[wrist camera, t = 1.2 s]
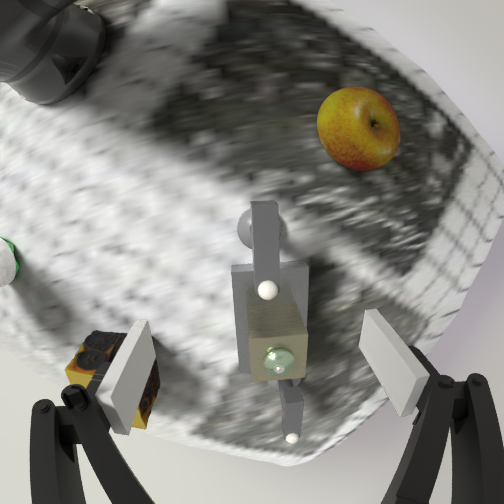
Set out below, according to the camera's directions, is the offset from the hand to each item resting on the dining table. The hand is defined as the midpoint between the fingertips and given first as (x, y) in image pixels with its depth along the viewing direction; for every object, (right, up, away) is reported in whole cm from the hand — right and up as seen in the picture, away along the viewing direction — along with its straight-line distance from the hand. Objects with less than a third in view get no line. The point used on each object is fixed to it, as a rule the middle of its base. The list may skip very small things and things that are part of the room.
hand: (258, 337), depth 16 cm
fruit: (+11, +19, +15) cm, 27 cm away
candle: (-20, -11, +23) cm, 32 cm away
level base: (+2, -3, +21) cm, 22 cm away
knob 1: (0, +8, +18) cm, 19 cm away
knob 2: (+4, -14, +25) cm, 29 cm away
